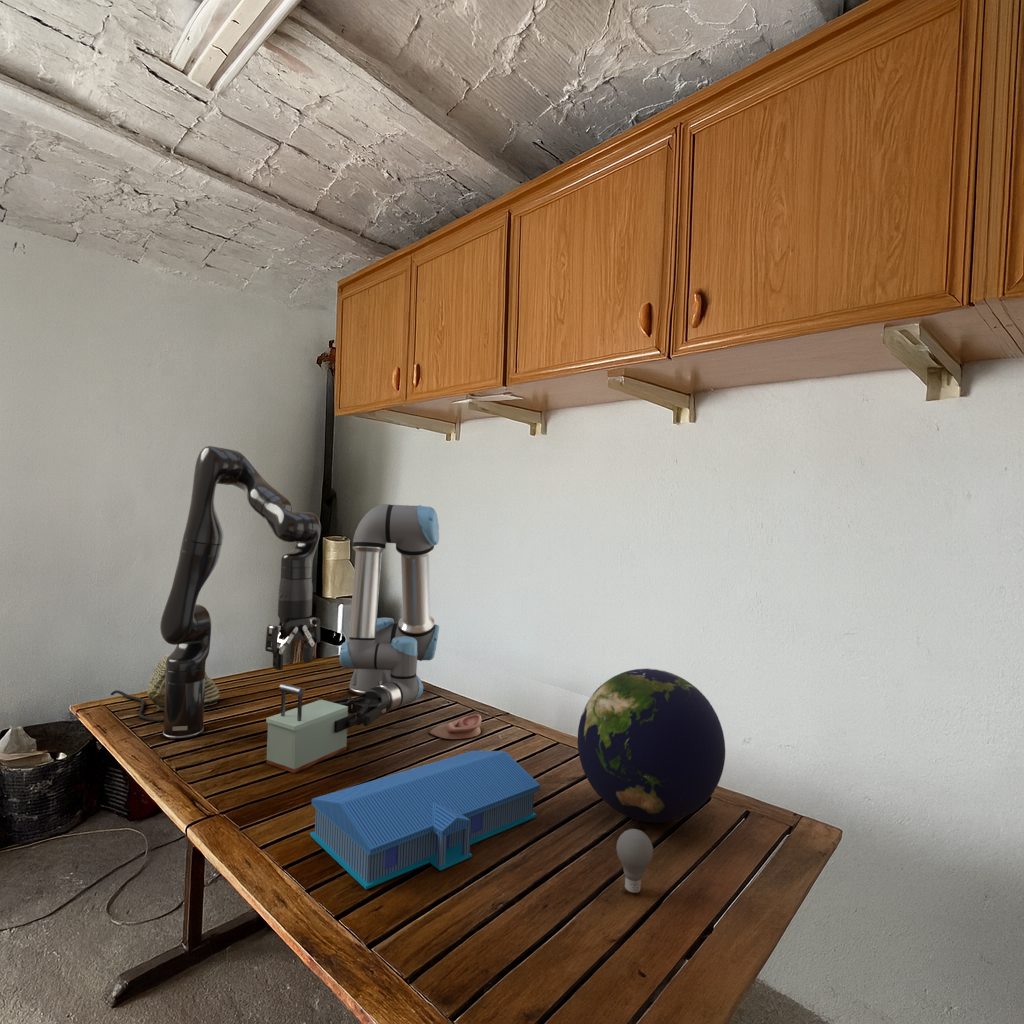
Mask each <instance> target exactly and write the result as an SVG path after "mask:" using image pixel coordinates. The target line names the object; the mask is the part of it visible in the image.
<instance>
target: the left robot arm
mask: <svg viewBox="0 0 1024 1024" xmlns="http://www.w3.org/2000/svg"><path fill="white" fill-rule="evenodd" d="M217 485H225V486H229V485H230V486H234V487H237V488H238V489H240V490H242V491H244V492H245V493H246V500H247V503H248V505H249V506H250V508H251V509H252V510H253V511H254V512H256V513H257V514H258V515H259V516H260V517H261V518H262V519H263V520H265V521H266V522H267V525H268V527H269V528H270V529H271V531H272V533H273V535H274V536H275V537H276V539H279V540H280V541H282V542H284V543H295V545H294V548H293V549H292V550H290V551H288V552H284V553H283V554H282V555H281V558H280V570H279V571H280V572H279V573H280V575H279V577H280V578H279V583H278V598H277V617H278V618H279V622H278V624H276V625H273V624H268V625H267V626H266V635H265V647H264V650H265V651H266V652H268V653H271V654H272V668H273V669H274V670H277V671H281V670H283V669H284V651H285V649H287V646H290V644H291V642H295V641H298V640H299V641H301V642H302V644H303V646H302V662H304V663H307V664H309V663H312V660H313V652H314V646H315V644H317V643H320V642H321V620H320V618H318V617H312V615H313V611H312V610H313V581H312V580H313V560H314V557H315V553H316V551H317V547H318V544H319V541H320V537H321V532H322V524H321V522H320V519H319V517H318V516H317V514H315V513H314V512H311V511H293V509H294V507H293V505H292V502H291V501H290V500H289V499H288V497H286V496H284V495H283V494H282V493H280V492H279V491H278V490H277V489H276V488H275V487H273V486H272V485H271V484H269V483H268V481H266V479H264V478H263V476H262V475H261V474H260V473H259V472H258V471H257V469H256V468H255V467H254V465H252V463H251V462H250V461H249V459H247V457H246V456H245V455H244V454H243V453H241V452H240V451H238V450H234V449H230V448H226V447H225V448H224V447H219V446H213V445H207V446H205V447H203V448H202V449H201V450H200V451H199V453H198V455H197V457H196V461H195V466H194V473H193V481H192V489H191V498H190V503H189V509H188V514H187V520H186V524H185V528H184V531H183V532H184V533H183V536H182V540H181V545H180V550H179V554H178V555H179V556H178V561H177V563H176V564H177V565H176V568H175V572H174V577H173V581H172V584H171V589H170V592H169V595H168V598H167V601H166V604H165V607H164V609H163V612H162V615H161V619H160V623H159V625H160V626H159V631H160V634H161V637H162V639H163V640H164V641H165V642H166V643H167V644H169V645H173V646H176V647H175V648H174V649H173V651H172V652H171V653H170V654H168V655H169V656H168V658H167V659H166V674H165V705H164V710H163V717H162V718H152V717H150V716H145V715H143V714H142V713H143V711H144V708H145V706H146V702H145V700H144V699H143V698H141V697H139V696H133V695H130V694H128V693H125V692H124V691H121V690H118V689H117V690H114V691H112V692H111V693H110V696H114V695H115V694H119V695H121V696H122V697H125V698H126V699H130V700H135V701H138V702H141V705H140V709H139V711H138V713H137V716H138V717H139V718H140V719H142V720H144V721H148V722H155V723H156V722H157V723H161V722H163V731H162V737H164V738H166V739H169V740H185V739H190V738H191V739H192V738H194V737H197V736H199V735H202V734H203V732H204V730H205V729H204V722H205V721H204V718H205V706H204V693H205V672H206V664H207V663H206V662H207V658H208V656H209V653H210V649H211V639H212V617H211V614H210V612H209V610H208V609H207V608H206V607H205V606H203V605H201V604H197V602H198V598H199V596H200V595H199V594H200V593H201V591H202V588H203V587H204V585H205V584H206V583H207V580H208V579H209V578H210V576H211V574H212V573H213V571H214V569H215V568H216V566H217V564H218V562H219V559H220V555H221V551H222V547H223V543H224V530H223V528H222V527H223V526H222V525H221V521H220V519H219V516H218V514H217V511H216V508H215V494H216V488H217Z"/></svg>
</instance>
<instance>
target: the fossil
mask: <svg viewBox="0 0 1024 1024" xmlns="http://www.w3.org/2000/svg"><path fill="white" fill-rule="evenodd" d="M169 655H170V654H165V655H164V656H163V657H162V658H161V659H160V660H159V662H158V663H157V666H156V667H155V669H154V670H153V672H152V675H151V677H150V680H149V684H148V688H147V697H148V699H149V700H150V701H152V703H153V704H154V706H155V711H158V712H159V711H162V712H163V711H164V705H165V674H166V659H167V658H168V656H169ZM220 698H221V696H220V690H219V688H218V686H217V685H216V683H215V682H214V681H213V679H212V678H211V677H209V675H208V674H207V672H206V671H205V693H204V707H207V706H213V705H215V704H217V703H218V701H219V699H220Z"/></svg>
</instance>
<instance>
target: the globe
mask: <svg viewBox="0 0 1024 1024" xmlns="http://www.w3.org/2000/svg"><path fill="white" fill-rule="evenodd" d="M577 751H578V757H579V761H580V764H581V768H582V771H583V773H584V775H585V777H586V779H587V781H588V783H589V785H590V786H591V787H592V789H593V790H594V791H595V793H596V794H597V795H598V796H599V797H600V799H602V801H604V803H606V804H607V805H608V806H609V807H610V808H612V809H613V810H614V811H616V812H618V813H620V814H622V815H623V816H626V817H627V818H631V819H634V820H636V821H640V822H646V823H654V824H656V823H668V822H669V823H670V822H673V821H677V820H680V819H683V818H685V817H687V816H689V815H692V814H693V813H694V812H695V811H697V810H699V809H700V808H701V807H702V806H703V805H704V804H705V803H706V802H707V801H708V800H709V799H710V798H711V796H712V795H713V794H714V792H715V790H716V789H717V787H718V785H719V783H720V781H721V778H722V776H723V771H724V768H725V762H726V740H725V736H724V731H723V727H722V723H721V720H720V719H719V716H718V714H717V712H716V711H715V709H714V707H713V706H712V704H711V702H710V701H709V699H708V698H707V697H706V696H705V695H704V694H703V692H701V690H699V688H697V687H696V686H695V685H694V684H692V683H691V682H690V681H688V680H686V679H685V678H684V677H681V676H679V675H678V674H675V673H673V672H669V671H666V670H663V669H658V668H647V667H646V668H635V669H630V670H627V671H623V672H620V673H619V674H616V675H614V676H612V677H611V678H609V679H608V680H606V681H605V682H604V683H602V684H601V685H600V686H599V687H597V688H596V690H595V691H594V692H593V693H592V695H591V696H590V697H589V699H588V701H587V702H586V704H585V706H584V707H583V710H582V712H581V715H580V719H579V723H578V729H577Z"/></svg>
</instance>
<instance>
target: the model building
mask: <svg viewBox="0 0 1024 1024" xmlns="http://www.w3.org/2000/svg"><path fill="white" fill-rule="evenodd" d="M538 791H541V784H540V783H539V782H538V781H537V780H536V779H535V778H534V777H533V776H532V775H531V774H530V773H529V772H527V771H526V769H524V768H523V766H521V764H519V762H517V761H516V760H515V759H514V757H512V756H511V755H510V754H509V753H508V752H507V750H471V751H467V752H464V753H460V754H457V755H454V756H449V757H447V758H444V759H441V760H437V761H434V762H431V763H427V764H423V765H420V766H417V767H414V768H410V769H407V770H403V771H400V772H397V773H394V774H390V775H387V776H384V777H381V778H380V777H379V778H377V779H374V780H371V781H366V782H364V783H360V784H357V785H354V786H350V787H347V788H344V789H339V790H337V791H334V792H330V793H327V794H324V795H319V796H316V797H314V798H311V806H313V807H314V808H315V817H314V831H311V832H310V833H309V836H310V838H312V839H313V840H314V841H315V842H316V843H317V845H319V846H320V847H321V848H322V849H323V850H325V852H326V853H327V854H329V856H330V857H331V858H333V859H334V860H335V861H336V862H337V863H338V864H339V865H340V866H341V867H342V868H343V869H344V870H345V871H346V872H347V874H349V875H350V876H351V877H352V878H353V879H354V880H355V881H356V882H357V883H359V885H361V886H362V887H363V888H364V890H369V889H371V888H373V887H375V886H378V885H381V884H382V883H385V882H388V881H389V880H392V879H394V878H397V877H399V876H402V875H404V874H406V873H408V872H410V871H413V870H416V869H417V868H420V867H423V866H424V865H427V864H429V863H430V864H431V865H432V866H433V867H434V868H436V869H437V870H438V871H440V872H441V871H443V870H445V869H448V868H450V867H452V866H455V865H457V864H459V863H461V862H463V861H465V860H468V859H471V858H473V853H471V852H470V851H471V846H472V845H474V844H476V843H478V842H482V841H484V840H486V839H488V838H490V837H493V836H495V835H497V834H499V833H502V832H505V831H506V830H507V831H508V830H510V829H512V828H513V827H516V826H519V825H520V824H523V823H525V822H527V821H530V820H532V819H535V818H537V817H538V814H537V813H535V812H534V798H535V797H534V796H535V792H538Z"/></svg>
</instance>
